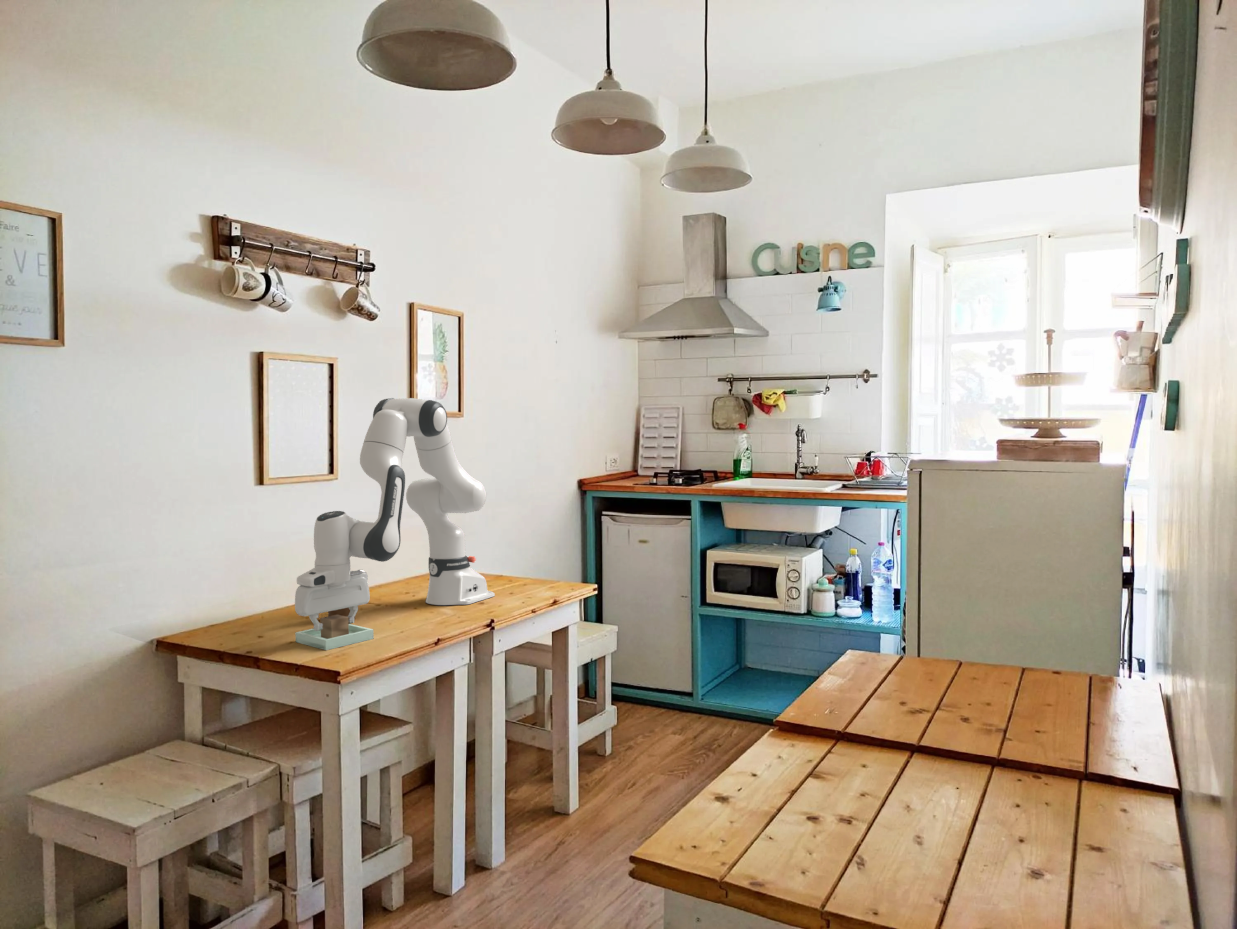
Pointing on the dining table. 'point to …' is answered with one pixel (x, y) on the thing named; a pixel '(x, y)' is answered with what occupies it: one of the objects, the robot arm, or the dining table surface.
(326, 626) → the block
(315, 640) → the tray
